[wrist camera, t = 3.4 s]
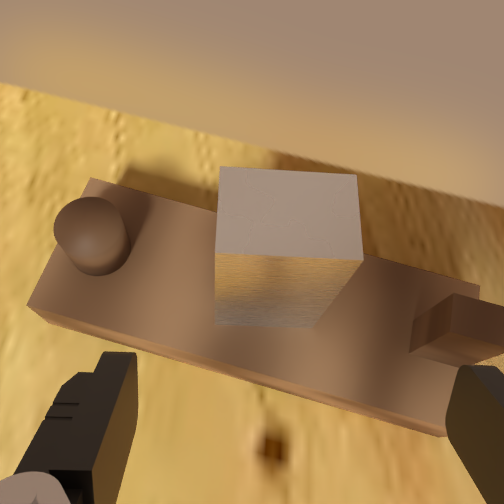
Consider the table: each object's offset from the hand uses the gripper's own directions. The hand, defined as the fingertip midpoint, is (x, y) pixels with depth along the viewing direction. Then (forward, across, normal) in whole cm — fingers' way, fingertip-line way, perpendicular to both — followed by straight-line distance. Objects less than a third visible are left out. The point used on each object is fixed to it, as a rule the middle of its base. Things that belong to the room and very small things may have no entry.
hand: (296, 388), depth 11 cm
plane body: (+12, 0, +4) cm, 13 cm away
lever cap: (+10, 0, +2) cm, 10 cm away
